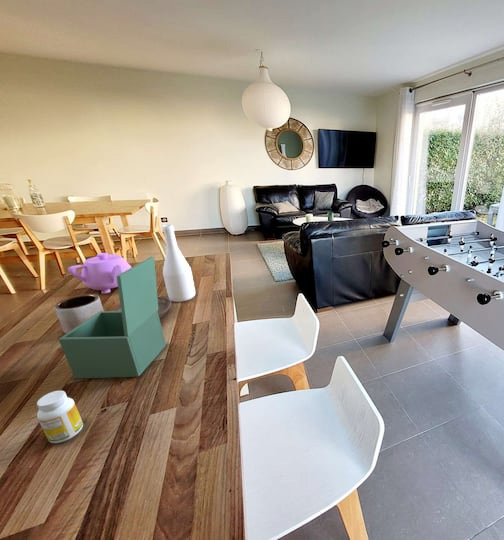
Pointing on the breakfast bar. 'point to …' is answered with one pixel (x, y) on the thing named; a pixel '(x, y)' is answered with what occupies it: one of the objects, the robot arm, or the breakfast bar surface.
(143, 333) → the green open box
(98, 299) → the planter
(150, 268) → the lid
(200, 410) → the breakfast bar surface
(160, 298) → the plant saucer
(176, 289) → the wine bottle
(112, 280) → the teapot
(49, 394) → the supplement bottle
